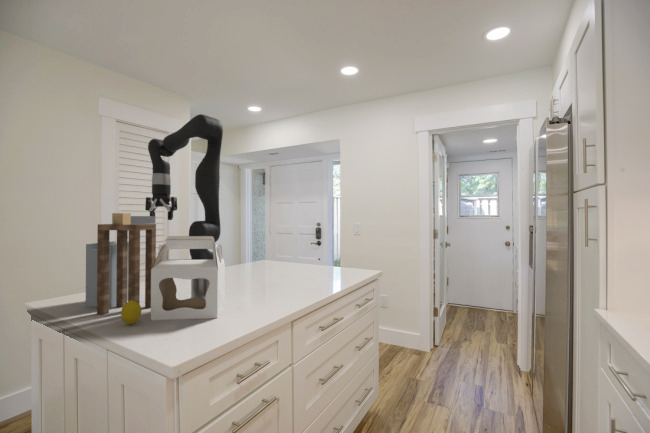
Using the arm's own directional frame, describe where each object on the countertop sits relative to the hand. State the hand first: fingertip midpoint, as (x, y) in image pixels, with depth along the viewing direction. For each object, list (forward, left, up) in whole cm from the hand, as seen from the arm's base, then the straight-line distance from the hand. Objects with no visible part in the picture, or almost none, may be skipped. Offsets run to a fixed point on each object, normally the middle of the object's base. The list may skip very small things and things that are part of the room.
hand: (161, 220), depth 142 cm
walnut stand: (-2, +25, -33) cm, 42 cm away
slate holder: (+12, +15, -33) cm, 38 cm away
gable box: (-27, +27, -34) cm, 51 cm away
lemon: (-14, +40, -34) cm, 54 cm away
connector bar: (-2, +21, -1) cm, 21 cm away
